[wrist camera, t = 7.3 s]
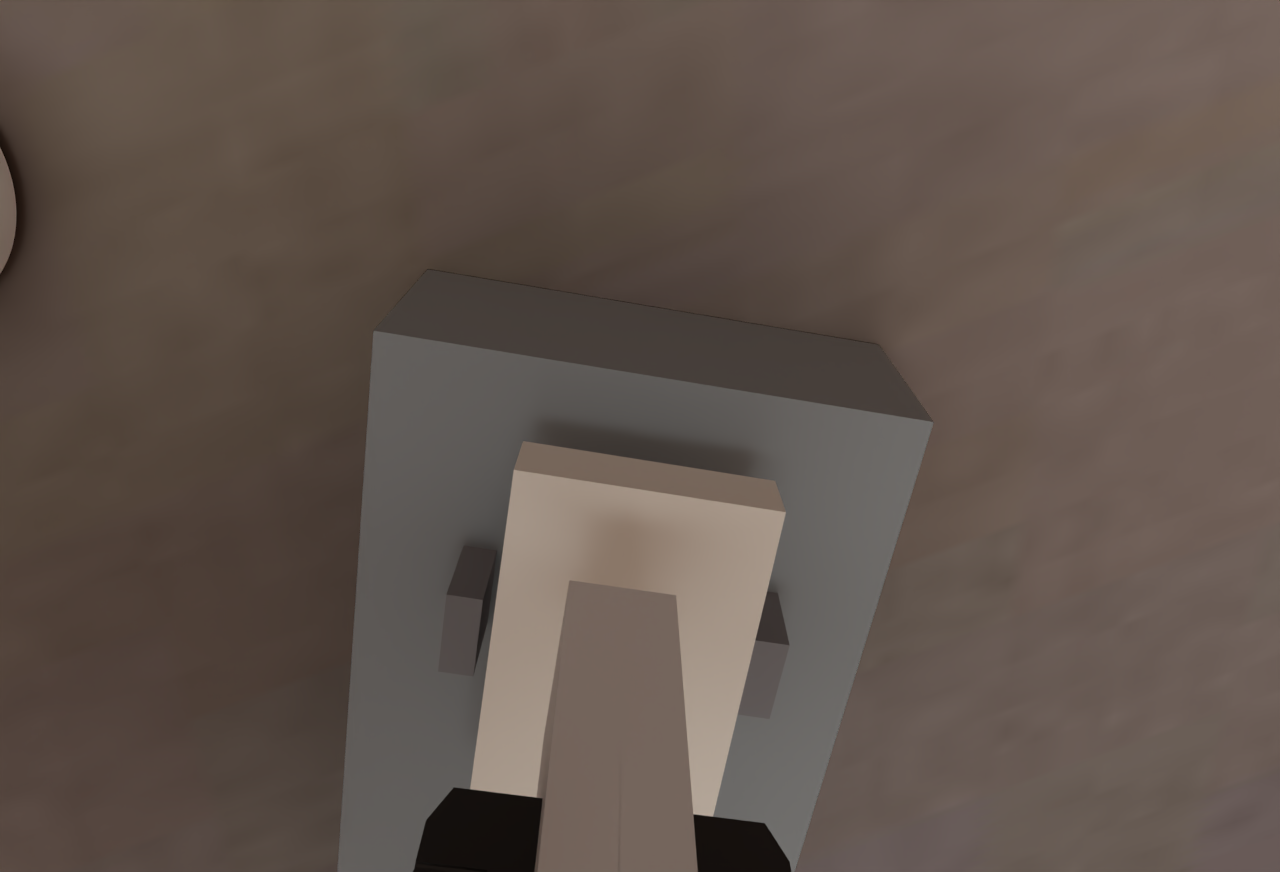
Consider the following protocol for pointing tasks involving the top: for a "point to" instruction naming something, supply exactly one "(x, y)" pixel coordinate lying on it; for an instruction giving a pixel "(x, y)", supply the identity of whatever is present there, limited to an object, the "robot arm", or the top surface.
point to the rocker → (635, 559)
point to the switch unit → (622, 426)
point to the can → (6, 212)
